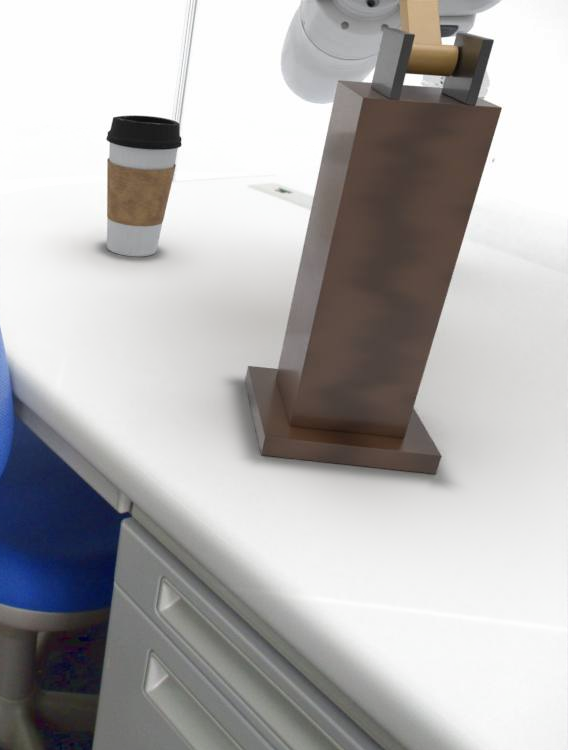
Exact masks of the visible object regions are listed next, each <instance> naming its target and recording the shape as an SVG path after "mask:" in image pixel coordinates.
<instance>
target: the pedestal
mask: <svg viewBox="0 0 568 750" xmlns="http://www.w3.org/2000/svg"><path fill="white" fill-rule="evenodd" d="M414 37H415V34H412V33H409V32H405V31H402V30H399V29H395V28H387V27H385V28H384V31H383V36H382V40H381V45H380V49H379V53H378V58H377V62H376V66H375V68H374V71H373V75H372V81H371V82H368V81H367V82H365V81H362V82H354V81H340V80H339V81H338V83H337V88H336V93H335V98H334V102H332V107H331V112H330V116H329V122H328V125H327V132H326V136H325V140H324V146H323V150H322V156H321V161H320V165H319V170H318V173H317V174H318V175H317V180H316V184H315V189H314V194H313V199H312V203H311V208H310V213H309V218H308V223H307V227H306V232H305V236H304V237H305V238H304V241H303V247H302V251H301V255H300V260H299V265H298V266H299V267H298V270H297V275H296V280H295V285H294V290H293V294H292V299H291V303H290V304H291V305H290V308H289V314H288V318H287V322H286V328H285V333H284V337H283V343H282V347H281V348H282V349H281V352H280V357H279V360H278V361H279V362H278V366H277V368H275V367H274V368H273V367H264V366H254V365H247V367H246V373H245V379H244V384H245V389H246V392H247V397H248V402H249V406H250V410H251V414H252V421H253V424H254V428H255V434H256V437H257V442H258V446H259V447H258V448H259V450H260V455H261V456H266V457H267V456H268V457H274V458H275V457H277V458H285V459H294V460H303V461H313V462H322V463H333V464H341V465H347V466H348V465H351V466H359V467H366V468H367V467H368V468H375V469H377V468H378V469H387V470H395V471H405V472H412V473H424V474H431V475H437V472H438V469H439V466H440V462H441V461H442V456H443V455H442V454H441V452H440V450H439V449H438V447H437V445H436V444H435V442H434V440H433V439H432V437H431V435H430V433H429V431H428V430H427V428H426V426H425V425H424V423H423V421H422V420H421V418H420V416H419V415H418V412H417V411H416V409H415V404H416V400H417V397H418V394H419V390H420V386H421V384H422V380H423V377H424V374H425V370H426V366H427V363H428V360H429V356H430V354H431V350H432V346H433V343H434V339H435V336H436V333H437V329H438V326H439V322H440V320H441V316H442V312H443V309H444V306H445V303H446V299H447V296H448V292H449V289H450V285H451V282H452V279H453V275H454V272H455V268H456V265H457V261H458V258H459V255H460V252H461V248H462V245H463V243H464V238H465V234H466V231H467V228H468V226H469V225H468V224H469V221H470V217H471V215H472V211H473V207H474V204H475V201H476V198H477V194H478V191H479V188H480V184H481V181H482V177H483V173H484V170H485V167H486V164H487V161H488V156H489V153H490V150H491V147H492V143H493V140H494V137H495V133H496V129H497V128H498V127H497V126H498V123H499V120H500V116H501V112H502V109H503V107H501V106H499V105H497V104H495V103H492V102H491V101H488V100H485V99H484V100H483V99H481V98H479V97H478V96H479V92H480V89H481V85H482V82H483V78H484V74H485V71H487V68H488V63H489V61H490V56H491V54H492V50H493V46H494V42H495V40H494V39H493V38H488V37H486V36H485V37H484V36H480V35H477V34H472V33H469V32H467V33H461V32H458V33H457V34H456V36H455V37H454V38H455V39H454V43H453V45H455V46H457V47H458V60H457V64H456V67H455V70H454V72H453V73H452V75H451V76H449V77H447V76H445V80H444V84H443V88H437V87H423V86H420V85H409V84H408V85H407V84H404V83H405V82H404V81H405V78H406V75H407V74H406V70H407V66H408V62H409V58H410V54H411V50H412V46H413V42H414Z"/></svg>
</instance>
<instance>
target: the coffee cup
mask: <svg viewBox="0 0 568 750" xmlns="http://www.w3.org/2000/svg"><path fill="white" fill-rule="evenodd" d="M180 129H181V128H180V123H179V122H178V121H176V120H173V119H169V118H165V117H158V116H150V115H118V116H114V117H112V121H111V125H110V130H108V131H107V135H106V141H107V142H109V153H108V154H109V155H108V158H107V164H106V165H107V170H106V171H107V172H106V173H107V177H106V179H107V180H106V181H107V182H106V183H107V184H106V187H107V188H106V191H107V192H106V202H107V203H106V218H107V219H106V220H107V222H106V248H107V250H108V251H110V252H112V253H115V254H116V255H121V256H125V257H137V258H138V257H149V256H153V255H154V254H156V253H157V251H158V247H159V241H160V237H161V232H162V226H163V222H164V219H165V215H166V210H167V206H168V201H169V197H170V193H171V189H172V183H173V179H174V176H175V172H176V166H177V165H176V163H175V162H176V158H177V153H178V149H179V148H181V147H182V139H183V138H182V136H181V133H180V132H181V131H180Z"/></svg>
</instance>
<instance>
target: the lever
mask: <svg viewBox="0 0 568 750" xmlns="http://www.w3.org/2000/svg"><path fill="white" fill-rule="evenodd" d="M399 3H400V19H401V30H402V31H405V32H409V33H412V34H415V37H414V42H413V46H412V50H411V54H410V58H409V62H408V66H407V70H406V75H421V76H423V75H433V76H447V77H449V76H451V75H452V73H453V72H454V70H455V67H456V64H457V60H458V47H457V46H455V45H454V44H443V43H442V38H441V30H440V19H439V8H438V0H399Z"/></svg>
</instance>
